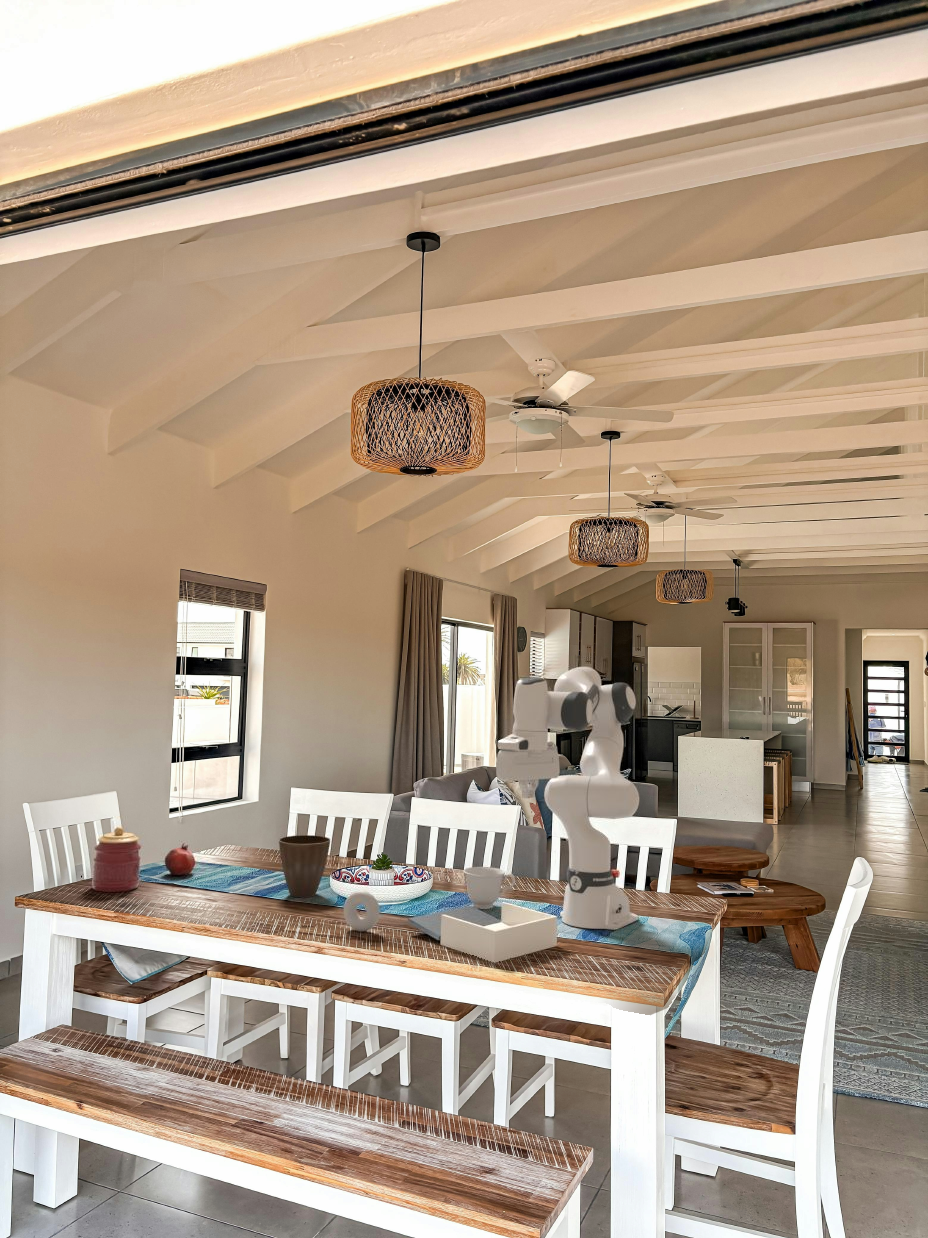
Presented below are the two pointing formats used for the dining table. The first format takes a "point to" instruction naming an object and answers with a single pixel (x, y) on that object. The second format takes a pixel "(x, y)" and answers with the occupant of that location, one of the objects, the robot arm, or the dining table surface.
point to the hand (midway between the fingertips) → (528, 798)
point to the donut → (371, 909)
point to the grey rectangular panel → (433, 921)
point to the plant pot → (303, 862)
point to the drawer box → (501, 934)
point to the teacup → (485, 885)
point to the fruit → (180, 861)
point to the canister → (116, 862)
